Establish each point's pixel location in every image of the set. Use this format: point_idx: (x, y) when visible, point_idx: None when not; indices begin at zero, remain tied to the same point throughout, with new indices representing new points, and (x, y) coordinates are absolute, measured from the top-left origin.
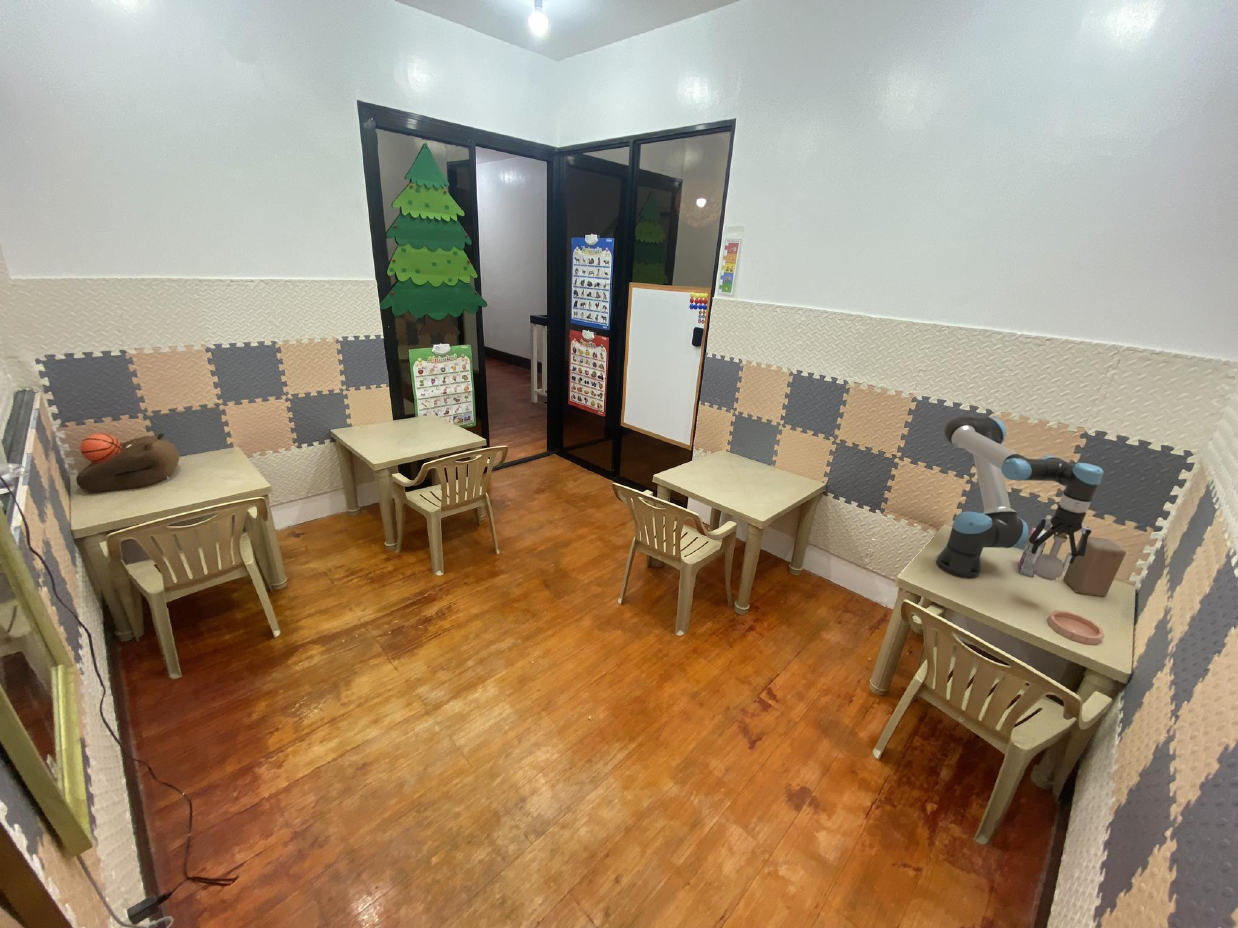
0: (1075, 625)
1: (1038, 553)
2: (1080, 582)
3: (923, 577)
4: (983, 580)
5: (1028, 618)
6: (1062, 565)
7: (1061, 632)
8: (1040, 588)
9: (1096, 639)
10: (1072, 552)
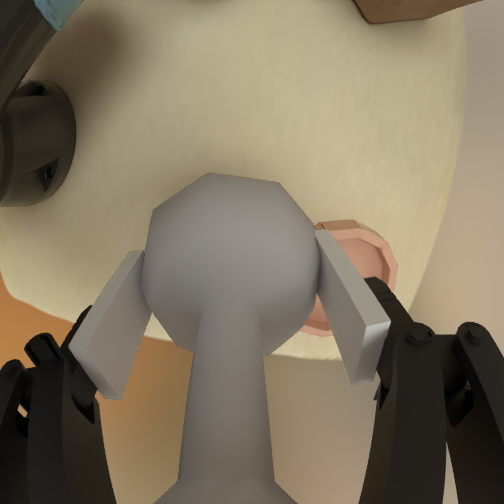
0: None
1: (132, 357)
2: (383, 9)
3: (14, 268)
4: (90, 155)
5: None
6: (307, 317)
7: None
8: (260, 56)
9: None
10: (378, 409)
